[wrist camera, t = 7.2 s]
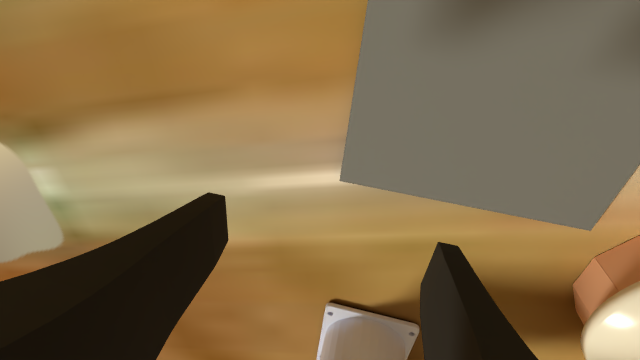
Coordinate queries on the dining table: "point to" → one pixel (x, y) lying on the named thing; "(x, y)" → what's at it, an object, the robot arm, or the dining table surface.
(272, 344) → the dining table surface
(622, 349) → the lid
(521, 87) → the mat
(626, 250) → the brown rounded ring
